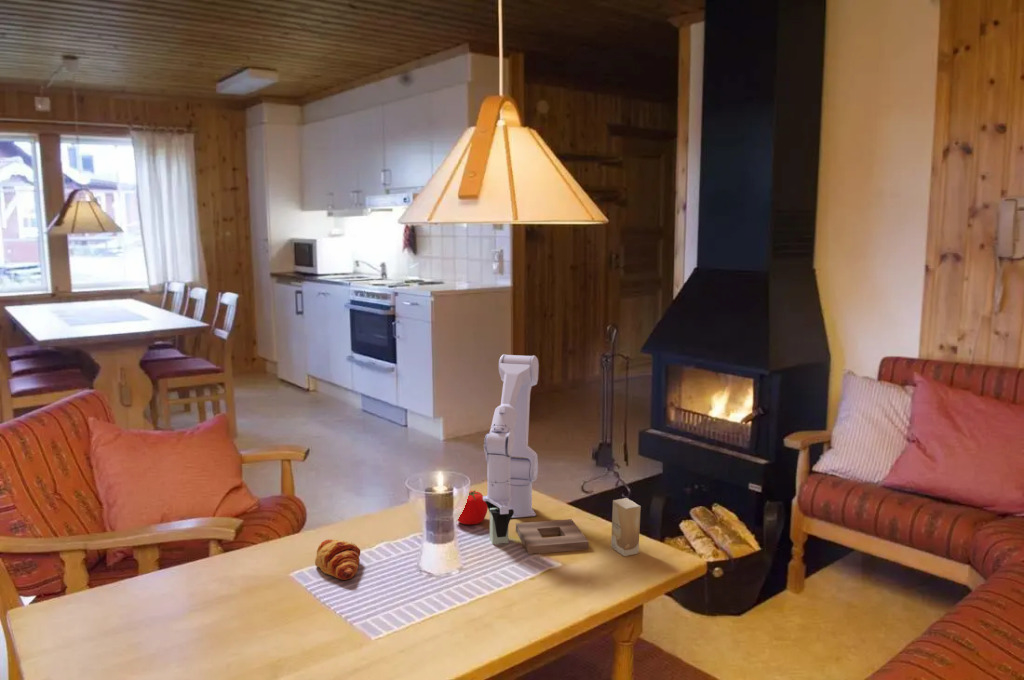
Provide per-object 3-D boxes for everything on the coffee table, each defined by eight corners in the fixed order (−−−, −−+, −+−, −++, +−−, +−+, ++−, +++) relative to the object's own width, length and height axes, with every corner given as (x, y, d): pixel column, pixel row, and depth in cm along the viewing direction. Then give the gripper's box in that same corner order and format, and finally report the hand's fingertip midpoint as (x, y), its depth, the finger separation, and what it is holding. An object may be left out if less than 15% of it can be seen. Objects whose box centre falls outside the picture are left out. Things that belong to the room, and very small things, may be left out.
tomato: (448, 527, 206) (447, 496, 204) (459, 513, 215) (459, 484, 214) (482, 530, 203) (482, 499, 202) (492, 516, 213) (492, 486, 212)
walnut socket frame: (515, 530, 203) (515, 523, 203) (571, 526, 206) (571, 519, 206) (528, 554, 189) (528, 546, 188) (588, 549, 192) (588, 541, 192)
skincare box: (610, 547, 193) (611, 499, 191) (625, 544, 195) (626, 497, 193) (624, 557, 187) (625, 508, 186) (639, 554, 189) (641, 505, 187)
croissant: (315, 566, 190) (299, 541, 188) (350, 540, 194) (334, 515, 191) (339, 601, 172) (321, 573, 169) (378, 572, 175) (360, 545, 173)
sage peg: (489, 538, 198) (489, 508, 197) (505, 537, 199) (505, 507, 198) (492, 544, 195) (492, 513, 193) (508, 543, 195) (508, 512, 194)
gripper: (478, 471, 201) (478, 522, 203) (488, 490, 187) (488, 544, 189) (505, 469, 202) (505, 520, 204) (517, 488, 188) (516, 541, 190)
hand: (498, 531), depth 197 cm, fingers open, 6 cm apart
